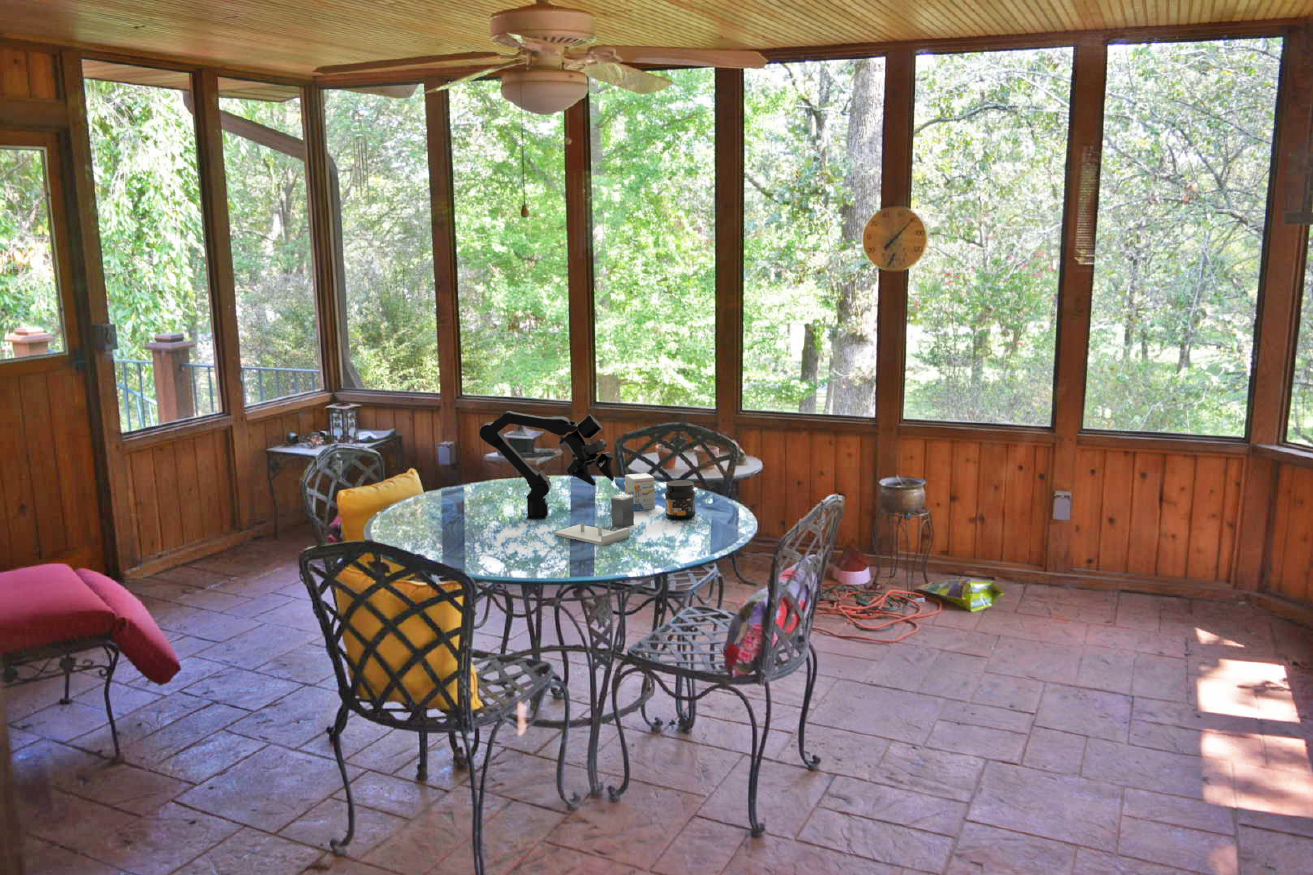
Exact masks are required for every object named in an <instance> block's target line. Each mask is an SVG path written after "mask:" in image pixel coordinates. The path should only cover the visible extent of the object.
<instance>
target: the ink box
mask: <svg viewBox="0 0 1313 875" xmlns="http://www.w3.org/2000/svg"><path fill="white" fill-rule="evenodd" d="M655 489H656V488H655V476H653V475H651V474H650V473H648V472H647V473H646V472H645V473H643V472H642V473H631V474H624V494H627V495H633V507H634V512H636V511H643V509H645V510H652V509H656V498H655Z"/></svg>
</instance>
